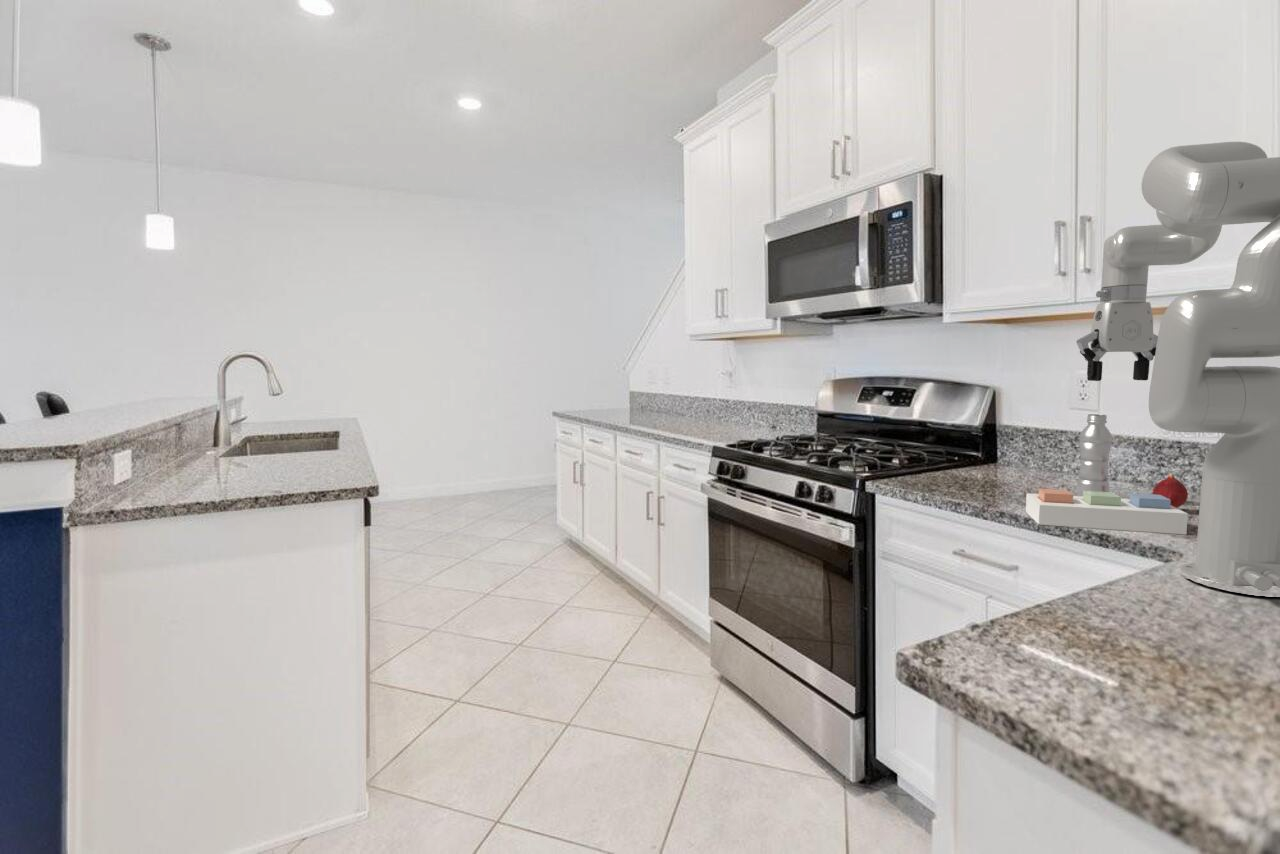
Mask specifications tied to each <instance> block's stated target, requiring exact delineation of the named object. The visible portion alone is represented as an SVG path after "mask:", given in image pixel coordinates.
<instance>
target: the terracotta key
mask: <svg viewBox="0 0 1280 854" xmlns="http://www.w3.org/2000/svg"><path fill="white" fill-rule="evenodd" d="M1037 494H1038V498H1039V499H1040V500H1041V501H1042V502H1050V503H1068V504H1073V496H1074V494H1073V493H1072V492H1070V491H1069V490H1067V489H1053V488H1052V489H1051V488H1038V493H1037Z"/></svg>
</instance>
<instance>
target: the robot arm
mask: <svg viewBox="0 0 1280 854" xmlns="http://www.w3.org/2000/svg"><path fill="white" fill-rule="evenodd" d="M1141 193H1142V197H1143V199H1144V200H1145V202H1146V203H1147V204H1148V205H1150V207H1152V208H1153V209H1154V210H1155V212H1156V213H1155V214H1156V218H1157V219H1158V222H1160V224H1150V225H1149V224H1148V225H1134V226H1127V227H1123V228H1120V229H1119V230H1117V231H1116V232H1115V233H1114V234H1113V235H1110V236H1109V237H1108V238H1106V240H1105V241H1104V242H1103V243H1104V244H1103V251H1102V253H1103V255H1102V256H1103V257H1102V267H1101V268H1102V270H1101V273H1102V274H1101V284H1100V290H1098V291H1096V293H1095V297H1096V298H1099V299H1100V300H1099V303H1097V306H1096V308H1095V312H1094V315H1093V319H1092V323H1091V331H1090V333H1088V334H1086V335H1084V336H1082V337H1080V338H1078V339H1077V340H1076V344H1077V347H1078V349H1079V354H1081V355H1082V357H1083V358H1084V360H1085V361H1086V362H1087V371H1086V375H1087V378H1086V379H1087V381H1088V382H1089V381H1090V382H1092V381H1094V382H1101V380H1102V377H1103V364H1104V363H1103V361H1102V360H1101V358H1103V357H1104V356H1105V354H1106V353H1117V352H1119V353H1120V352H1121V353H1123V352H1127V353H1129V352H1130V353H1132V355H1134V357H1135V358H1136V359H1137V360H1134V362H1133V373H1132V379H1133V380H1134V381H1148V380H1149V374H1150V362H1151V361H1153V367H1152V372H1151V381H1150V386H1149V392H1148V412H1149V416H1150V418H1151V420H1152V422H1153V424H1155V425H1156V427H1158V428H1160V429H1161V430H1164V431H1167V432H1168V431H1169V432H1174V433H1175V432H1176V433H1203V434H1205V433H1207V434H1209V433H1211V434H1212V433H1213V434H1214V433H1215V434H1223V435H1222V436H1221V437H1220V439H1219V440H1218V441H1216V442H1215V444H1214V445H1213V446H1212V447H1211V448H1210V450H1209V451H1208V452H1207V454H1206V456H1205V458H1204V462H1203V464H1202V465H1203V466H1202V475H1201V483H1200V487H1201V488H1200V496H1199V497H1200V498H1199V512H1198V525H1197V535H1196V536H1197V537H1196V550H1195V561H1194V562H1191V563H1190V562H1189V563H1186V564H1184V565H1182V566H1181V569H1180V572H1181V571H1182V572H1183V573H1185V574H1187V575H1189V576H1192V577H1195V578H1198V579H1201V580H1205V581H1211V582H1216V583H1220V584H1226V585H1231V586H1253V587H1255V588H1257V589H1258V590H1261V591H1266V590H1269V589H1270V588H1271V587H1272V586H1277V587H1279V588H1280V367H1278V366H1277V367H1276V366H1267V365H1266V366H1264V365H1226V366H1225V365H1224V366H1207V364H1208V362H1209V360H1210V359H1220V358H1221V359H1225V358H1226V359H1228V358H1229V359H1231V358H1232V359H1233V358H1234V359H1237V358H1238V359H1241V358H1245V359H1246V358H1250V359H1251V358H1273V357H1280V156H1278V157H1277V156H1275V157H1268V155H1267V154H1266V152H1265V150H1264V149H1262V148H1261V147H1260V146H1258V145H1256V144H1253V143H1250V142H1246V141H1223V142H1213V143H1211V142H1210V143H1202V144H1201V143H1199V144H1190V145H1189V144H1188V145H1178V146H1173V147H1170V148H1167V149H1164V150H1162V151H1161V152H1159V153H1158V154H1157V155H1156V156H1155V157H1153V159H1152V160H1151V161H1150V162H1149V163H1148V165H1147V167H1146V168H1145V171H1144V173H1143V176H1142V180H1141ZM1253 223H1254V224H1255V223H1256V224H1257V223H1268V224H1267V225H1266V226H1264V227H1263V228H1262V229H1261V230H1260V231H1259V232H1257V234H1255V235H1254V236H1253V237H1252V238H1251V239H1250V241H1249V242H1248V243H1247V244H1246V245H1245V246H1244V247H1243V248H1242V250H1241V252H1240V253H1239V254H1238V255H1239V256H1238V259H1237V263H1236V269H1235V275H1234V280H1233V282H1232V285H1231V286H1230V287H1229V288H1223V289H1219V288H1218V289H1202V290H1201V289H1198V290H1193V291H1188V292H1185V293H1182V294H1181V295H1179V296H1178V297H1176V298H1174V299H1173V300H1172V301H1171V302H1170V303H1169V305H1168V306H1167V307H1166V309H1165V311H1164V314H1163V315H1162V318H1161V321H1160V325H1159V330H1158V333H1157V334H1158V335H1157V334H1155V333H1154V318H1153V317H1154V316H1153V310H1152V306H1151V305H1152V304H1151V302H1150V301H1148V302H1147V290H1148V279H1149V278H1148V277H1149V267H1150V266H1174V265H1175V266H1176V265H1183V264H1188V263H1190V262H1193V261H1195V260H1197V259H1198V258H1200V257H1201V256H1202V255H1204V254H1205V253H1207V252H1208V251H1209V250H1211V249H1212V248H1213V247H1214V245H1215V244H1216V242H1217V241H1218V240H1219V236H1220V234H1221V233H1222V229H1223V228H1222V227H1223V225H1224V226H1225V225H1242V224H1243V225H1244V224H1253ZM1089 345H1090V347H1089ZM1205 578H1206V579H1205Z"/></svg>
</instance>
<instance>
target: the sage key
mask: <svg viewBox="0 0 1280 854" xmlns="http://www.w3.org/2000/svg"><path fill="white" fill-rule="evenodd" d="M1121 498H1122V497H1121V496H1119V495H1118V494H1116V493H1115V492H1111V491H1109V492H1095V491H1083V501H1084V502H1086V503H1087V504H1089V505H1103V506H1120V505H1121Z"/></svg>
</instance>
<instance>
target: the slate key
mask: <svg viewBox="0 0 1280 854" xmlns="http://www.w3.org/2000/svg"><path fill="white" fill-rule="evenodd" d="M1129 499H1130V500H1129V503H1130V504H1132V505H1134V506H1136V507H1138V508H1155V509H1170V504H1171V500H1170V499H1168V498H1166V497H1164V496H1162V495H1154V494H1153V493H1151V494H1150V493H1131V492H1130V493H1129Z"/></svg>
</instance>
